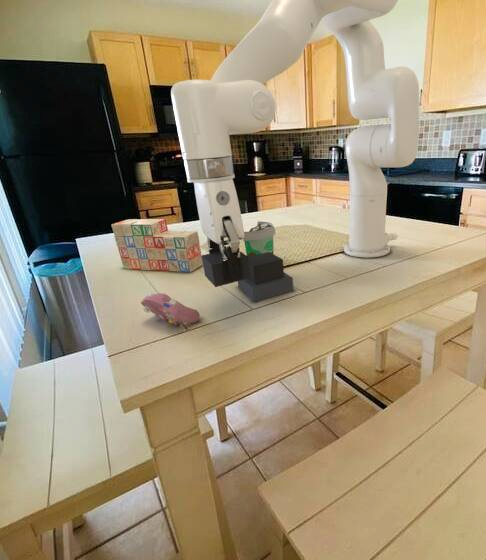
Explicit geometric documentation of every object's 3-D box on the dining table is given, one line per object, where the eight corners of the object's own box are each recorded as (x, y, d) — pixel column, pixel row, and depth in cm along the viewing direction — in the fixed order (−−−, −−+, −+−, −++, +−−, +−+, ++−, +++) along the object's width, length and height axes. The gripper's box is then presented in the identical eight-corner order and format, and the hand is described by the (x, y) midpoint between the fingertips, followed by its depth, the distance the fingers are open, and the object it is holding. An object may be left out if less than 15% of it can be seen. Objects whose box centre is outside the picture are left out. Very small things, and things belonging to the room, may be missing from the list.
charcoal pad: (270, 268, 75) (269, 251, 74) (284, 277, 70) (282, 259, 68) (243, 275, 72) (241, 257, 71) (255, 284, 67) (253, 266, 66)
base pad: (274, 278, 78) (273, 266, 77) (293, 290, 71) (292, 277, 70) (238, 287, 74) (236, 274, 73) (254, 301, 67) (252, 288, 66)
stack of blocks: (204, 264, 90) (196, 219, 85) (190, 273, 84) (181, 224, 80) (139, 260, 96) (128, 218, 91) (122, 268, 91) (110, 223, 86)
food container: (270, 272, 82) (267, 232, 78) (246, 272, 83) (242, 232, 79) (283, 256, 93) (280, 220, 89) (261, 256, 94) (258, 220, 90)
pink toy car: (154, 323, 64) (130, 300, 59) (170, 305, 66) (148, 281, 61) (188, 337, 59) (165, 312, 54) (204, 316, 61) (183, 291, 56)
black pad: (238, 267, 65) (235, 247, 63) (251, 277, 60) (248, 256, 58) (205, 275, 62) (201, 255, 60) (215, 287, 57) (211, 265, 55)
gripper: (252, 170, 48) (265, 283, 55) (216, 166, 62) (231, 257, 69) (200, 176, 45) (221, 296, 52) (175, 170, 59) (194, 265, 66)
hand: (226, 273), depth 61 cm, fingers closed on black pad, 6 cm apart
